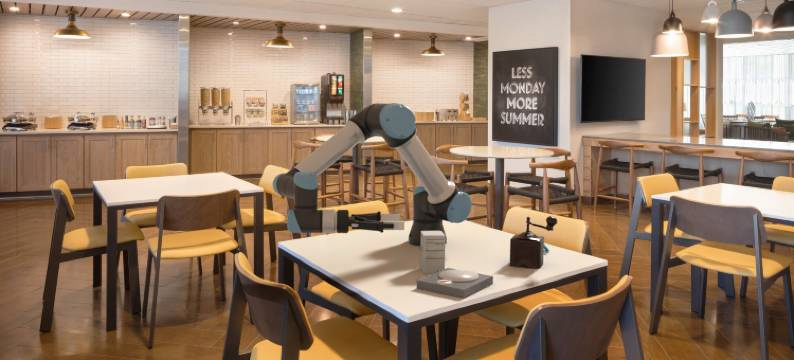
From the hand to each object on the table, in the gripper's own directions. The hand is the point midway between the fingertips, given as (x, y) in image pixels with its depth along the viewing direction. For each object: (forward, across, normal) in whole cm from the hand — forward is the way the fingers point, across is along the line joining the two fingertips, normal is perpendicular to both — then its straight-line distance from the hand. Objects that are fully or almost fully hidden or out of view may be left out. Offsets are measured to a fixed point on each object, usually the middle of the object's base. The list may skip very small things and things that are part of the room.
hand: (402, 221), depth 203 cm
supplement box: (+10, 0, -16) cm, 19 cm away
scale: (+15, +18, -16) cm, 28 cm away
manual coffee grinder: (+46, -6, -16) cm, 49 cm away
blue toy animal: (+54, -26, -16) cm, 62 cm away
